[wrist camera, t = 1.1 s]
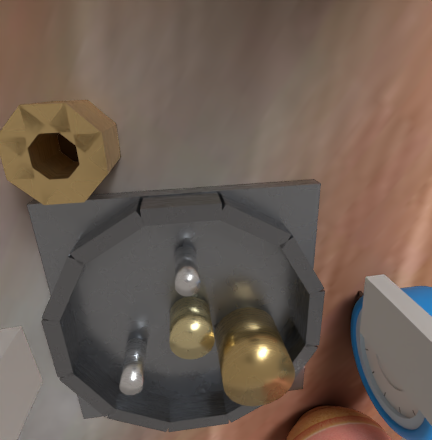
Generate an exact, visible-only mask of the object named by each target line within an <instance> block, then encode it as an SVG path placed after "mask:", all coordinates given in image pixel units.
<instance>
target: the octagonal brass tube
mask: <svg viewBox="0 0 432 440" xmlns="http://www.w3.org/2000/svg"><path fill="white" fill-rule="evenodd" d="M59 133H60V134H61V135H63V136H64V137H65V138H67V139H68V140H69V141H70V142H72V143H73V144H74V145H76V149H77V154H78V159H79V161H73V160H71V159H70V158H69V157H67V156H66V155H65V154H64V153H62V152H61V150H60V146H59V141H58V135H59ZM0 157H1V160H2V164H3V168H4V171H5V175H6V178H7V180H8V181H9V182H11V183H12V184H14V185H15V186H17V187H18V188H19V189H21V190H22V191H24V192H25V193H27V194H28V195H30V196H31V197H33V198H34V199H36V200H37V201H39V202H40V203H41V204H43V205H54V204H68V203H82V202H85V201H86V200H87V199H88V197H89V196H90V195H91V194H92V193H93V191H94V190H95V189H96V188H97V187H98V185H99V184H100V183H101V182H102V181H103V179H104V178H105V177H106V176H107V175H108V173H109V172H110V171H111V169H112V168H113V167H114V165H115V164H116V163H117V161H118V160H119V159H120V157H121V154H120V147H119V140H118V133H117V126H116V123H115V122H113V121H112V120H111V119H110V118H109V117H107V116H106V115H105V114H104V113H103V112H102V111H100V110H99V109H98V108H97V107H96V106H94V105H93V104H92V103H91V102H90V101H88V100H74V101H51V102H42V103H32V104H23V105H19V106H18V107H17V109H16V110H15V112H14V113H13V114H12V116H11V117H10V119H9V120H8V121H7V123H6V124H5V126H4V127H3V128H2V130H1V131H0Z"/></svg>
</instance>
